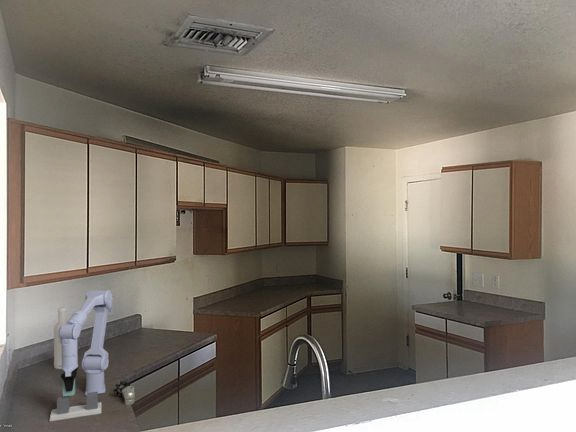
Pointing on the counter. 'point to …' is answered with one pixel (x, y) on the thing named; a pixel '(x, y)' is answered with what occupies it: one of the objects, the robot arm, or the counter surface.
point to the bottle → (56, 339)
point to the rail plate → (76, 408)
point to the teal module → (68, 391)
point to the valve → (125, 392)
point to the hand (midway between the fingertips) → (69, 388)
